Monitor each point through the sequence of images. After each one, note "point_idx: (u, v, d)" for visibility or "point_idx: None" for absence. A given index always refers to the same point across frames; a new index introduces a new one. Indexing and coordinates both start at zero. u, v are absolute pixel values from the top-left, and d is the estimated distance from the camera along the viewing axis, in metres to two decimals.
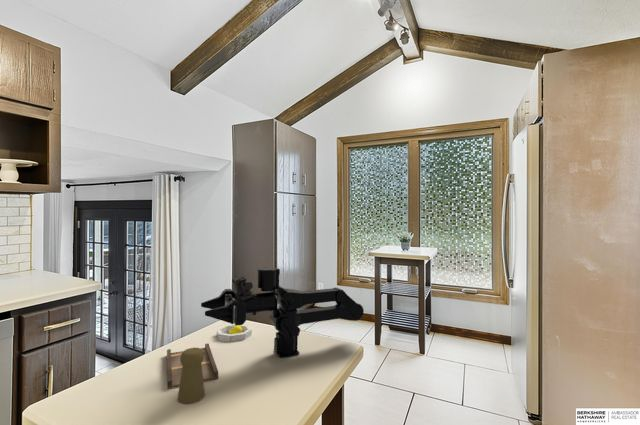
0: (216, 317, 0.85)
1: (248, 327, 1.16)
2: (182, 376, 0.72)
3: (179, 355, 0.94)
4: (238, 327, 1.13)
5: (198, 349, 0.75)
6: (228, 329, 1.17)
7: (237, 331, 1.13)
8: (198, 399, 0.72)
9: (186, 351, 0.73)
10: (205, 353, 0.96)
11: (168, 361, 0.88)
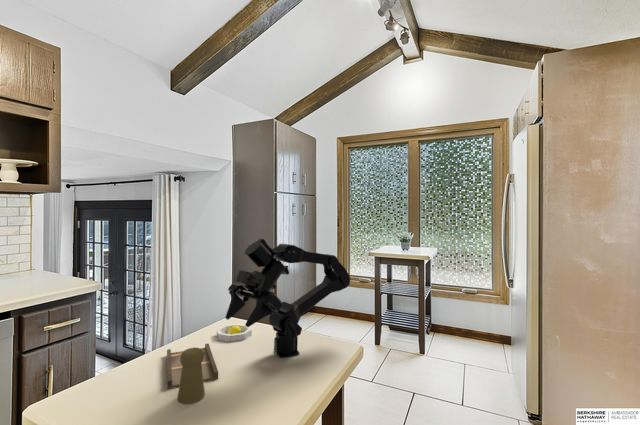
0: (257, 320, 0.85)
1: (248, 327, 1.16)
2: (182, 376, 0.72)
3: (179, 355, 0.94)
4: (237, 327, 1.13)
5: (198, 349, 0.75)
6: (228, 329, 1.17)
7: (236, 331, 1.12)
8: (198, 399, 0.72)
9: (186, 351, 0.73)
10: (205, 353, 0.96)
11: (168, 361, 0.88)
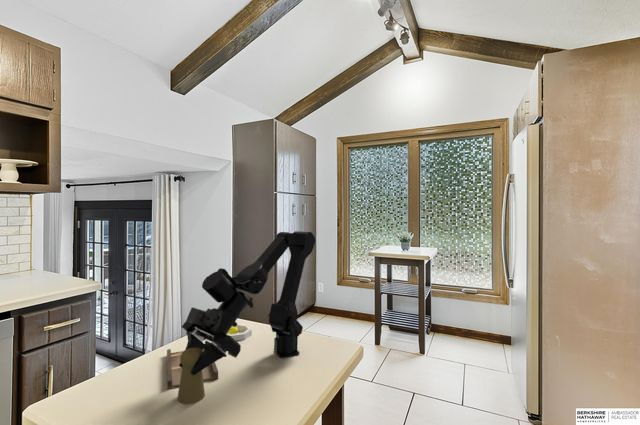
0: (206, 366, 0.73)
1: (248, 327, 1.16)
2: (182, 376, 0.72)
3: (179, 355, 0.94)
4: (234, 327, 1.13)
5: (198, 349, 0.75)
6: None
7: (233, 331, 1.12)
8: (198, 399, 0.72)
9: (186, 351, 0.73)
10: None
11: (168, 361, 0.88)
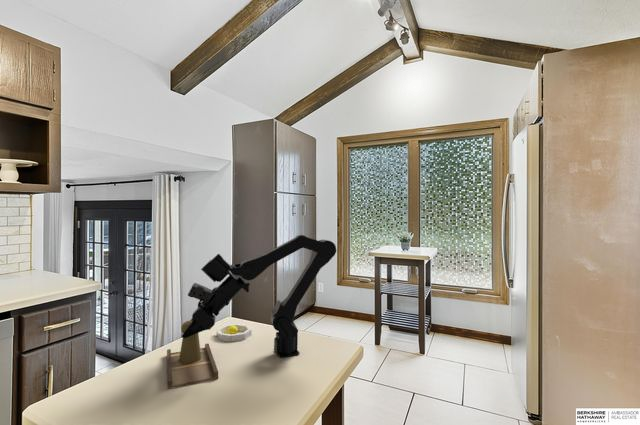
0: (193, 333, 0.88)
1: (248, 327, 1.16)
2: (182, 340, 0.92)
3: (179, 355, 0.94)
4: (234, 327, 1.13)
5: None
6: None
7: (233, 331, 1.12)
8: (189, 362, 0.89)
9: (186, 321, 0.92)
10: (205, 353, 0.96)
11: (168, 361, 0.88)
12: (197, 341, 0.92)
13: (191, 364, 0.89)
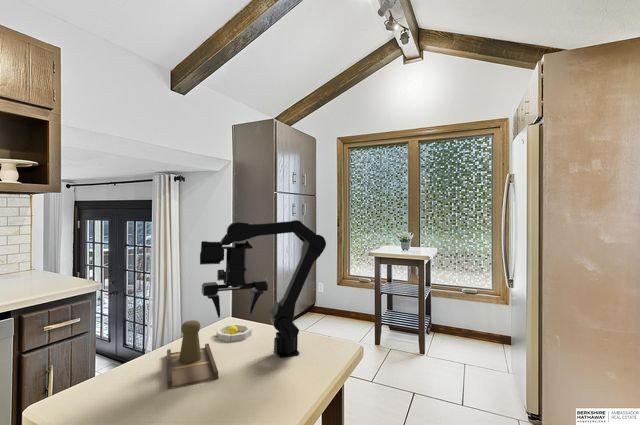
0: (216, 309, 0.91)
1: (248, 327, 1.16)
2: (182, 340, 0.92)
3: (179, 355, 0.94)
4: (234, 327, 1.13)
5: (195, 322, 0.92)
6: None
7: (233, 331, 1.12)
8: (189, 362, 0.89)
9: (186, 321, 0.92)
10: (205, 353, 0.96)
11: (168, 361, 0.88)
12: (197, 341, 0.92)
13: (191, 364, 0.89)
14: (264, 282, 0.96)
